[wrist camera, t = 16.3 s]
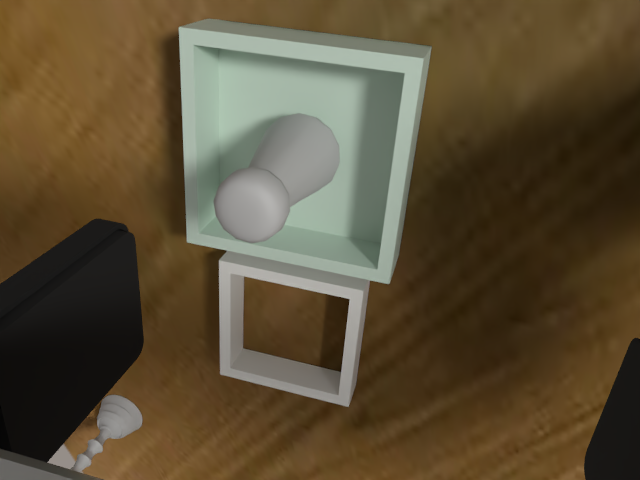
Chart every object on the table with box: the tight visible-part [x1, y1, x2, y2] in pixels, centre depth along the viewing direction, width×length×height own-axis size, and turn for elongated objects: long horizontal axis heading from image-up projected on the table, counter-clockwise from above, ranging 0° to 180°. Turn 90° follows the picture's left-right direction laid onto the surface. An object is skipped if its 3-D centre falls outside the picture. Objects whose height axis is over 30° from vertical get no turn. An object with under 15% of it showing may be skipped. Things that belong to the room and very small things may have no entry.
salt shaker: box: [213, 113, 340, 243], centre depth 39 cm, size 6×6×13 cm
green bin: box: [179, 19, 432, 284], centre depth 43 cm, size 16×16×4 cm
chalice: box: [70, 395, 142, 472], centre depth 57 cm, size 7×7×18 cm
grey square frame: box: [219, 251, 370, 407], centre depth 51 cm, size 12×12×3 cm
